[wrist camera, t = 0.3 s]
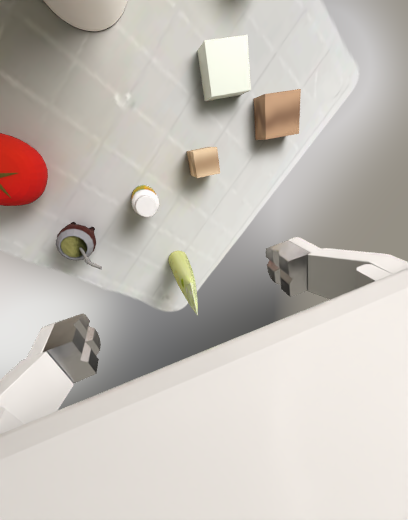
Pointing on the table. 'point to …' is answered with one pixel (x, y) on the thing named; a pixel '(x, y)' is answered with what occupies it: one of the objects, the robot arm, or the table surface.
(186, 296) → the tube
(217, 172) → the oak block
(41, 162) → the tomato
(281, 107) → the walnut block
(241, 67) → the white block
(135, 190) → the supplement bottle
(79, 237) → the mate gourd
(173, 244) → the table surface
